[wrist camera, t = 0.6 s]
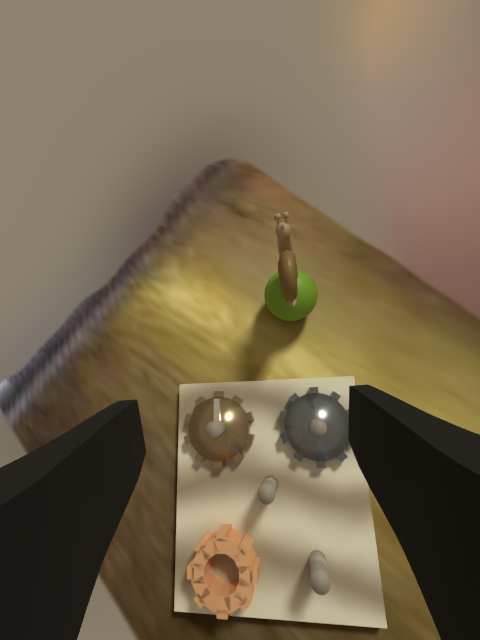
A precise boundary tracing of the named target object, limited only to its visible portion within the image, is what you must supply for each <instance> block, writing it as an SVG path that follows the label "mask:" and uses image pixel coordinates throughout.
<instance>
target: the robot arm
mask: <svg viewBox="0 0 480 640" xmlns="http://www.w3.org/2000/svg"><path fill="white" fill-rule="evenodd" d="M348 440H349V442H350V445H351V448H352V451H353V453H354V456H355V458H356V461H357V463H358V466H359V468H360V470H361V472H362V474H363V475H364V477H365V479H366V481H367V483H368V485H369V487H370V489H371V490H372V492H373V494H374V496H375V498H376V499H377V501H378V503H379V505H380V507H381V509H382V510H383V512H384V514H385V516H386V518H387V520H388V521H389V523H390V525H391V527H392V529H393V531H394V532H395V534H396V536H397V538H398V540H399V542H400V544H401V546H402V548H403V550H404V552H405V555H406V557H407V559H408V562H409V564H410V566H411V569H412V571H413V573H414V575H415V578H416V580H417V582H418V585H419V587H420V589H421V592H422V594H423V596H424V599H425V601H426V604H427V606H428V609H429V611H430V613H431V616H432V618H433V621H434V623H435V625H436V628H437V630H438V633H439V635H440V638H441V640H480V435H479V434H476V433H473V432H471V431H468V430H466V429H463V428H461V427H458V426H456V425H453V424H451V423H449V422H446V421H444V420H442V419H440V418H437V417H435V416H433V415H431V414H428V413H426V412H424V411H422V410H420V409H418V408H416V407H414V406H412V405H410V404H408V403H406V402H404V401H402V400H400V399H398V398H396V397H394V396H392V395H390V394H387V393H385V392H383V391H381V390H379V389H377V388H375V387H372V386H370V385H357V386H349V426H348ZM145 454H146V448H145V442H144V436H143V430H142V425H141V419H140V413H139V407H138V402H137V400H123V401H118V402H116V403H114V404H112V405H110V406H108V407H107V408H105V409H103V410H101V411H100V412H98V413H97V414H95V415H93V416H92V417H90V418H88V419H87V420H85V421H84V422H82V423H80V424H79V425H77V426H76V427H74V428H72V429H71V430H69V431H67V432H66V433H64V434H62V435H61V436H59V437H57V438H55V439H54V440H52V441H50V442H48V443H47V444H45V445H43V446H41V447H40V448H38V449H36V450H34V451H33V452H31V453H29V454H27V455H25V456H23V457H21V458H19V459H17V460H15V461H13V462H11V463H9V464H7V465H5V466H3V467H1V468H0V640H77V637H78V634H79V631H80V628H81V624H82V622H83V618H84V615H85V612H86V609H87V606H88V602H89V600H90V597H91V594H92V591H93V588H94V585H95V582H96V579H97V576H98V573H99V570H100V567H101V565H102V562H103V560H104V557H105V555H106V552H107V550H108V547H109V545H110V543H111V540H112V538H113V536H114V534H115V531H116V529H117V527H118V525H119V522H120V520H121V518H122V516H123V513H124V511H125V509H126V506H127V504H128V502H129V500H130V497H131V495H132V493H133V490H134V488H135V486H136V483H137V481H138V478H139V475H140V472H141V468H142V465H143V461H144V457H145Z"/></svg>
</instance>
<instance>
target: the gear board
mask: <svg viewBox="0 0 480 640" xmlns="http://www.w3.org/2000/svg"><path fill="white" fill-rule="evenodd" d="M349 386H355V381H354V376H347V377H326V378H305V379H284V380H263V381H242V382H221V383H200V384H180V392H179V433H178V475H177V516H176V558H175V599H174V611H176V612H189V613H201V614H213V615H217V613H214V612H212V611H211V610H210V609H209V608H207V607H206V606H205V605H204V606H203V607H202V608H201V609H200V608H199V606H198V605H197V604H196V602H195V601H194V600H193V599H194V597H195V595H196V592H195V590H194V588H193V585H192V580H191V579H187V566H188V565H189V563H190V562H191V561H192V559H193V558H194V556H195V555H196V554H197V552H196V551H195V550H194V547H195V546H196V545H197V543H198V542H199V541H200V539H201V538H202V537H203V536H204V535H205V533H206V532H207V531H208V530H209V531H210V532H211V534H212V533H214V532H215V531H217V530H218V529H219V528H220V526H221V525H222V524H232V529H235V530H237V531H238V532H240V533H241V534H243V535H244V534H245V532H246V531H247V533H248V534H249V535H250V536H251V537H252V538H253V539H254V540H253V543H252V547H253V549H254V551H255V553H256V557H260V560H261V571H260V575H259V579H258V583H257V584H255V583H254V584H253V585H254V586H255V590H254V594H253V598H252V602H251V604H250V606H249V607H248V608H247V609H246V610H245V612H243V611H242V610H241V608H238V609H237V610H235V611H234V612H232V613H231V614H229V616H238V617H251V618H263V619H276V620H288V621H300V622H313V623H325V624H338V625H350V626H363V627H375V628H387V623H386V615H385V608H384V600H383V593H382V585H381V578H380V570H379V562H378V555H377V547H376V540H375V532H374V525H373V517H372V510H371V502H370V494H369V487H368V483H367V481H366V479H365V477H364V475H363V474H362V472H361V470H360V468H359V466H358V463H357V461H356V458H355V456H354V453H353V451H352V448H351V445H350V442H349V443H348V445H347V447H346V449H345V450H344V452H345V454H346V455H347V456H348V457H347V458H346V459H345V460H344V461H342V462H340V460H339V459H338V458H337V457H335V458H334V459H331V460H327V461H325V463H326V468H317V467H316V461H314V460H310V459H307V458H305V457H304V458H303V460H302V462H299V461H298V460H297V459H295V458H294V457H293V456H294V454H295V452H296V450H295V449H294V448H293V447H292V445H291V444H290V442H286V443H284V444H283V442H282V439H281V436H280V434H282V433H285V421H284V420H281V419H279V417H280V413H281V411H285V412H287V411H288V409H289V407H290V406H291V404H292V403H293V402H292V401H291V400H290V398H289V397H291V396H292V395H293V394H294V393H296V394H297V395H298V396H299V397H301V396H303V395H306V394H309V387H318V392H319V393H322V394H326V395H328V396H330V394H331V392H332V391H334V392H336V393H337V394H339V395H340V396H341V397H340V398H339V400H338V402H339V403H340V404H341V405H342V406H343V407H344V408H345V410H347V409H349ZM214 391H224V397H225V398H230V399H232V398H233V397H234V395H237V396H238V397H240V398H241V399H243V401H242V403H241V404H240V405H241V406H242V407H243V408H244V410H245V411H246V413H248V412H251V411H252V413H253V416H254V420H252V421H249V422H250V433H252V434H255V438H254V441H253V443H252V444H250V443H246V445H245V447H244V448H243V449H242V452H243V453H244V455H245V456H244V457H243V458H242V459H240V460H239V461H238V462H237V463H236V462H235V460H234V459H233V458H231V459H229V460H226V461H225V466H224V467H223V468H214V461H210V460H207V459H205V460H204V461H203V462H201V463H200V462H198V461H197V460H196V459H195V458H194V457H195V455H196V454H197V452H196V450H195V449H194V447H193V446H192V444H191V443H190V444H187V445H186V444H185V440H184V436H187V435H189V423H187V422H184V419H185V416H186V414H187V413H191V414H192V413H193V412H194V410H195V409H196V407H197V404H196V403H195V401H196V400H197V399H198V398H199V397H200V396H202V397H205V399H206V400H207V399H209V398H212V397H214ZM310 429H311V431H312V432H313V433H314V434H315V435H317V436H321V435H323V434H325V432H326V430H327V425H326V423H325V422H324V421H323V420H321V419H319V418H315V419H313V420H312V421H311V422H310ZM224 431H225V426H224V424H223V423H222V422H221V421H213V422H210V423H208V424H207V426H206V433H207V435H208V436H209V437H212V438H214V437H217V436H220V435H222V434H223V433H224ZM212 567H213V570H214V572H215V574H216V576H218V577H219V578H220V579H222V580H223V581H230V582H233V581H234V580H236V579H237V578H239V569H238V567H237V565H236V563H235V561H234V560H233V559H232V558H231V557H229V556H228V555H226V554H215V555H214V556H212Z"/></svg>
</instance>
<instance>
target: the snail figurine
mask: <svg viewBox="0 0 480 640" xmlns="http://www.w3.org/2000/svg"><path fill="white" fill-rule="evenodd" d="M282 216H283V218H284V219H286V223H285V222H282V223H280V224H279V221H278V220H280V218H281V215H280V214H275V216H274V219H275V220H277V221H278V226H277V227H276V235H277V237H278V251H279V255H280V257H279V262H278V273H276V274H275V275H273V276H272V277H271V279H270V280H269V281H268V283H267V285H266V288H265V302H266V305H267V307H268V309H269V310H270V312H271V313H272V314H273V315H274V316H276V317H277V318H279V319H282V320H285V321H296V320H300V319H302V318H304V317H306V316H307V315H308V314H309V313H310V312H311V311H312V310H313V308H314V306H315V304H316V301H317V288H316V285H315V283H314V281H313V279H312V278H311V277H310V276H309V275H308V274H307V273H305V272H303V271H301V270H298V269H297V265H296V259H295V254H294V253H293V252H292V242H291V237H290V234H291V228H290V226H289V225H288V224H287V218H288V217H289V213H288V212H284V213H283V215H282Z"/></svg>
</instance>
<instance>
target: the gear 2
mask: <svg viewBox="0 0 480 640" xmlns="http://www.w3.org/2000/svg"><path fill="white" fill-rule="evenodd" d="M340 397H341V396H340V395H339V394H337V393H336V392H334V391H332V392H331V394H330V396H328V395H326V394H322V393H319V392H318V387H309V394H306V395H303V396H301V397H299V396H298V395H297V394H296V393H294V394H293V395H292V396H291V397H289V398H290V400H291V401H292V402H293V403H292V404H291V406H290V407H289V409H288V411H287V412H285V411H281V413H280V417H279V419H281V420H284V421H285V433H282V434H280V436H281V439H282V442H283V444H284V443H286V442H290V444H291V445H292V447H293V448H294V449H295V450H296V452H295V454H294V456H293V457H294V458H295V459H297V460H298V461H299V462H302V460H303V458H304V457H305V458H307V459H310V460H314V461H316V467H317V468H326V463H325V461H327V460H331V459H334V458H335V457H337V458H338V459H339V460H340V462H342V461H344V460H345V459H346V458H347V457H348V456H347V455H346V454H345V452H344V450H345V449H346V447H347V445H348V443H349V440H348V426H349V409H347V410H345V408H344V407H343V406H342V405H341V404H340V403H339V402H338V400H339V398H340ZM315 418H319V419H321V420H323V421H324V422H325V423H326V425H327V430H326V432H325V434H323V435H321V436H317V435H315V434H314V433H313V432H312V431H311V429H310V422H311V421H312V420H313V419H315Z"/></svg>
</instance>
